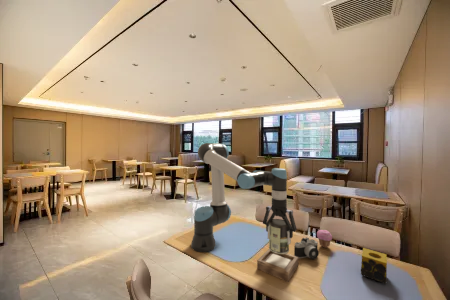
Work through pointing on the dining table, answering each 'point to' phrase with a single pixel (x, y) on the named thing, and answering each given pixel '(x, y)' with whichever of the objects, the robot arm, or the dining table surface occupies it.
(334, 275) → the dining table surface
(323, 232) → the cupcake
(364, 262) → the tissue box
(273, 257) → the wooden box
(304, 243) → the camera
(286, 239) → the coffee can
